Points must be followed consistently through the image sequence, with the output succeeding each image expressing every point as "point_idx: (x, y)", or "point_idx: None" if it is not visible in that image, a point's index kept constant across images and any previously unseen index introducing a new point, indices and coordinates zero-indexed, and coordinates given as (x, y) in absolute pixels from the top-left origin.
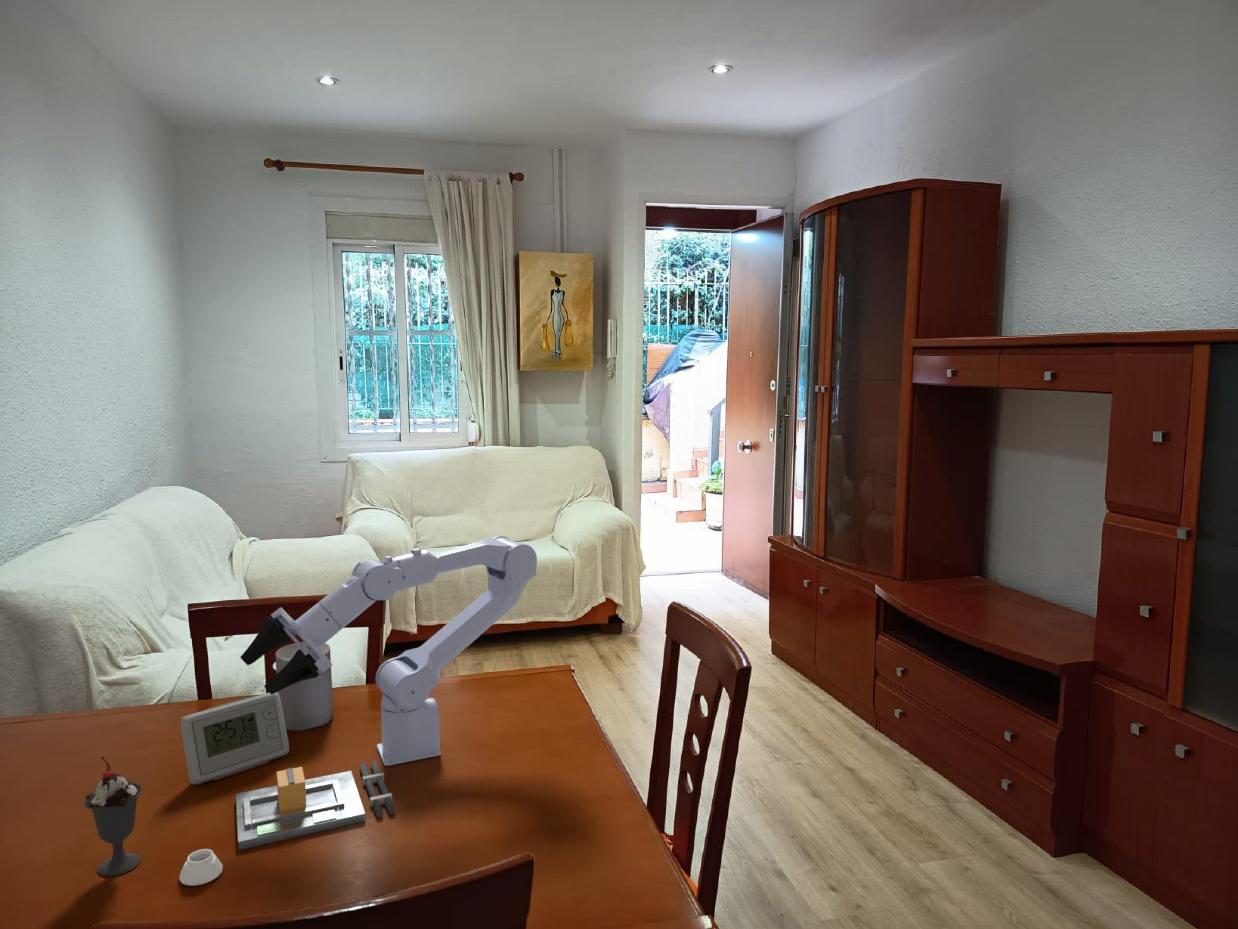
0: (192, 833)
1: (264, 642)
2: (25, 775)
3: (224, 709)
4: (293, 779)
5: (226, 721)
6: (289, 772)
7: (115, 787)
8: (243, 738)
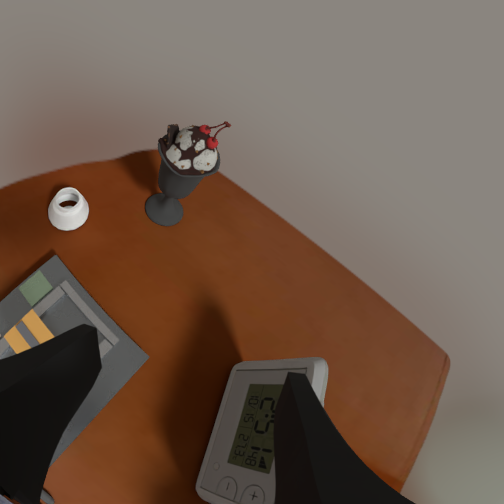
0: (138, 276)
1: (296, 476)
2: (380, 305)
3: None
4: (22, 334)
5: None
6: None
7: (181, 130)
8: (244, 441)
